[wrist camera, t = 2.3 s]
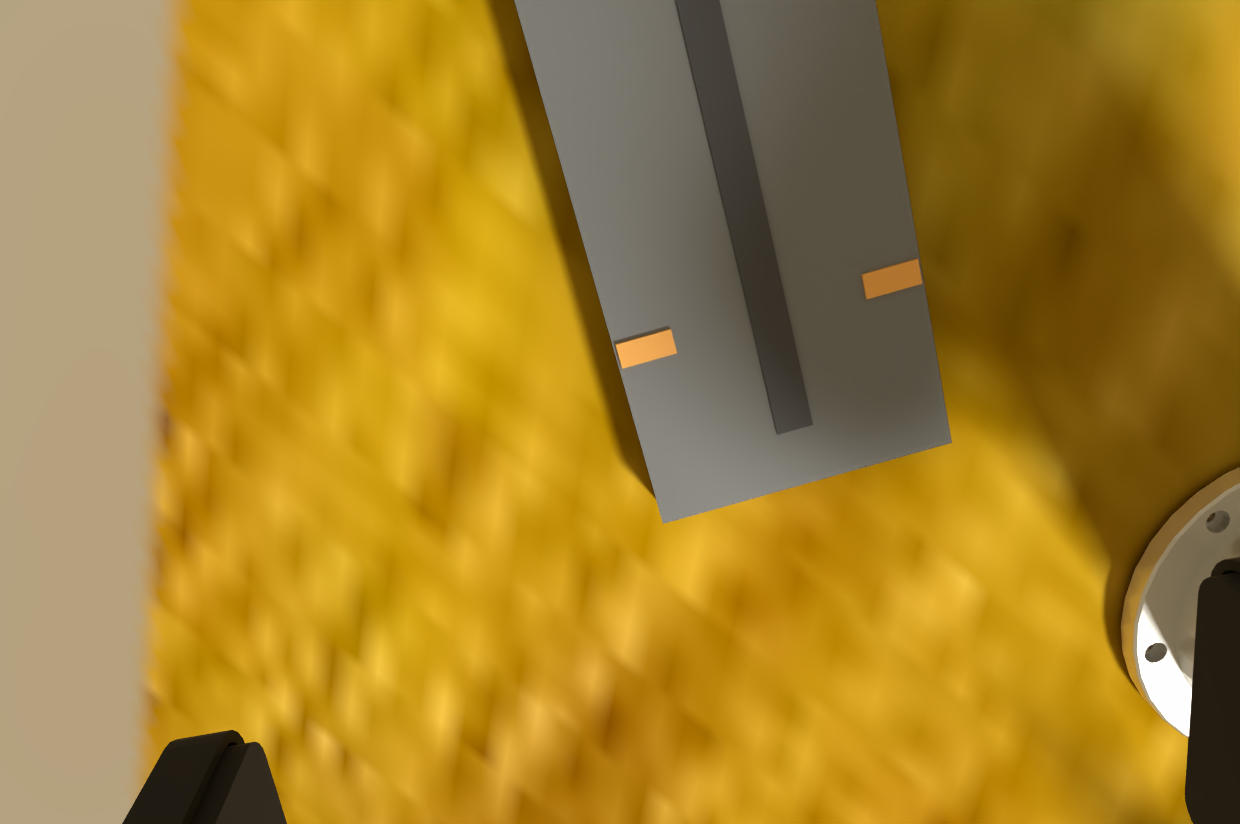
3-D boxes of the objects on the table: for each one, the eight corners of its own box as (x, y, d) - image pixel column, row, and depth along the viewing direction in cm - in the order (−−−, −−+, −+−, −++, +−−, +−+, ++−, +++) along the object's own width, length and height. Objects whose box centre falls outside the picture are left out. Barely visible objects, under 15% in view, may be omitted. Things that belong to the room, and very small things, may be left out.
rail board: (771, -456, 26) (790, -505, 24) (929, 423, 34) (953, 443, 32) (415, -350, 26) (403, -389, 24) (656, 500, 34) (663, 525, 32)
